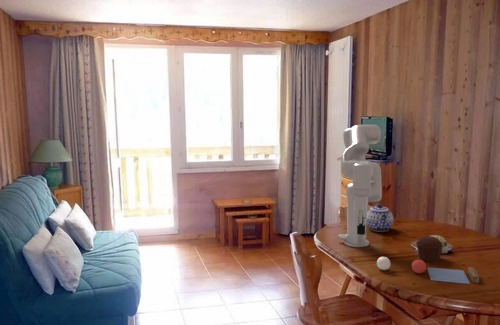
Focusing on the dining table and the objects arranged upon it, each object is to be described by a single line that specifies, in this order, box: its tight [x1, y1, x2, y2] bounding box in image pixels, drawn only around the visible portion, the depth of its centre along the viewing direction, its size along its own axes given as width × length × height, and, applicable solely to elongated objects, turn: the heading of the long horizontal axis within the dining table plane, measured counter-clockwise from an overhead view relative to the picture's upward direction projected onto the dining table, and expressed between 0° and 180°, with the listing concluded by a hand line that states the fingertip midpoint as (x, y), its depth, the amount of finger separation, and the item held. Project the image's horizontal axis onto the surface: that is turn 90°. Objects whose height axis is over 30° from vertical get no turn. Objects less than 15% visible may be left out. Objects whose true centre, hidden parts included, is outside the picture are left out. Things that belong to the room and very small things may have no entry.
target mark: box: [426, 266, 471, 285], centre depth 170 cm, size 14×14×1 cm
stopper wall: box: [467, 267, 480, 284], centre depth 167 cm, size 2×10×2 cm, turn 163°
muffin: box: [415, 235, 443, 262], centre depth 190 cm, size 12×11×10 cm
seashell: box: [432, 234, 449, 255], centre depth 201 cm, size 10×10×10 cm
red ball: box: [411, 259, 427, 274], centre depth 173 cm, size 6×6×6 cm
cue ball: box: [376, 256, 392, 271], centre depth 177 cm, size 6×6×6 cm
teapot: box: [366, 203, 394, 233], centre depth 237 cm, size 25×15×15 cm, turn 173°
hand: (361, 233), depth 178 cm, fingers closed
